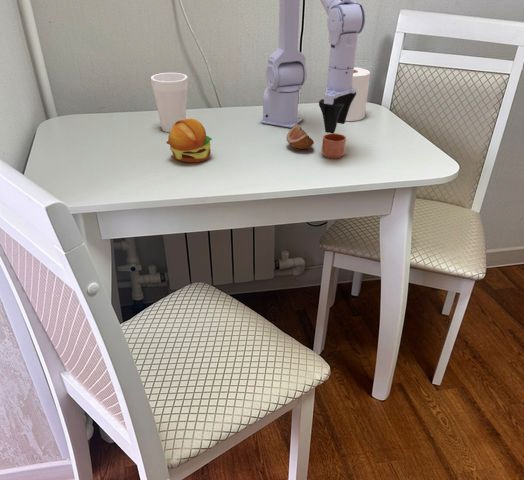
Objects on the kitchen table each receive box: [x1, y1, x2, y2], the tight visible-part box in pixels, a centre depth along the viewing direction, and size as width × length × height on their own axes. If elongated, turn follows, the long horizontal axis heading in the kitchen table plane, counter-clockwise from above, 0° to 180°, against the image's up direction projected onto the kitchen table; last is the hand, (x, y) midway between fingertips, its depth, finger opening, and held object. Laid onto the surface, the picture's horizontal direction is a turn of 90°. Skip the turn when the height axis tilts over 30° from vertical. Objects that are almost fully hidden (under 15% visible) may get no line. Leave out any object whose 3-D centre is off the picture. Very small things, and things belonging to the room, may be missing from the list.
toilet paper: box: [345, 66, 371, 122], centre depth 157 cm, size 10×10×12 cm
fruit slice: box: [286, 123, 315, 150], centre depth 138 cm, size 8×7×5 cm
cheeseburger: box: [165, 118, 213, 163], centre depth 131 cm, size 10×11×10 cm
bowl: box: [321, 133, 347, 160], centre depth 135 cm, size 6×6×4 cm
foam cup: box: [150, 72, 189, 133], centre depth 146 cm, size 10×9×13 cm
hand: (335, 127), depth 132 cm, fingers open, 7 cm apart
